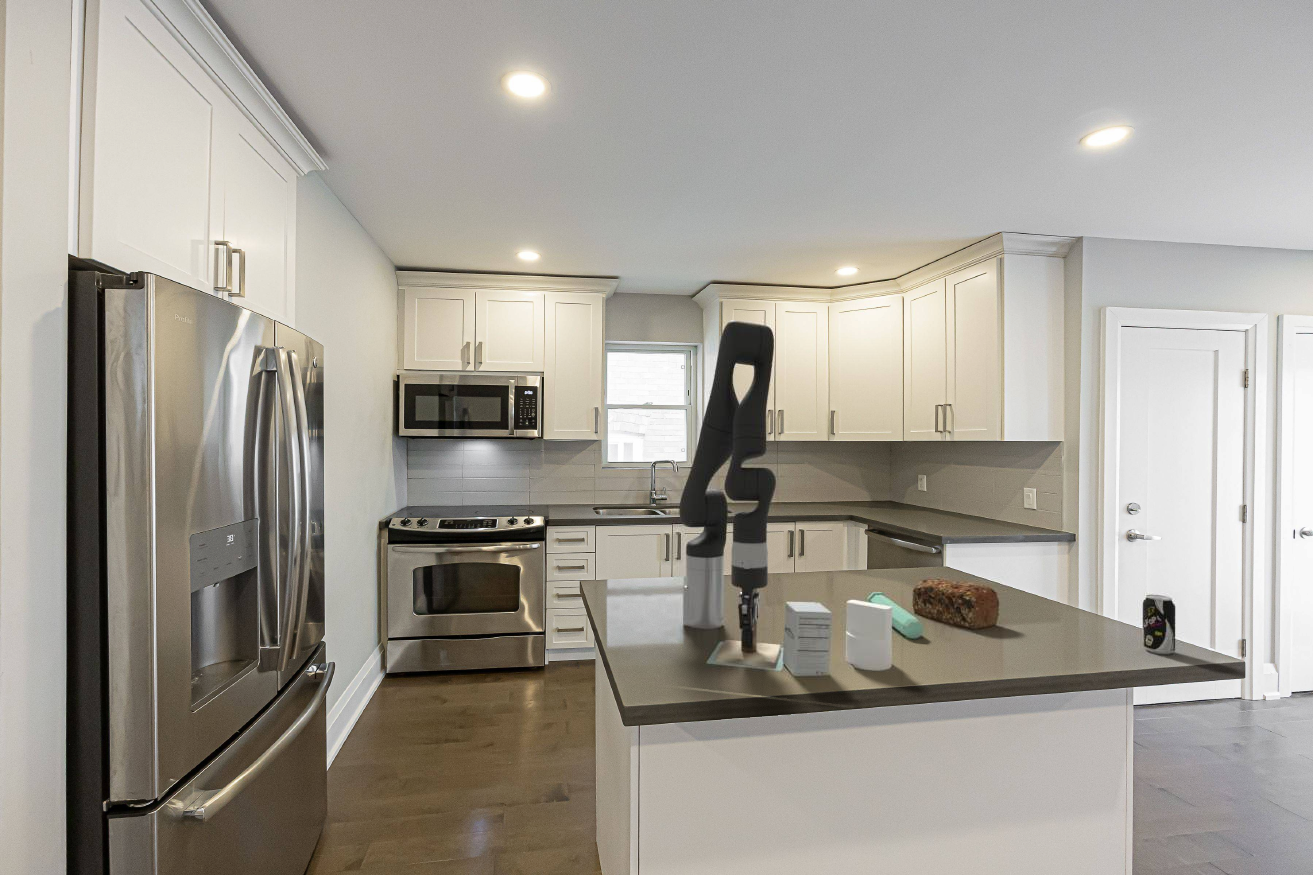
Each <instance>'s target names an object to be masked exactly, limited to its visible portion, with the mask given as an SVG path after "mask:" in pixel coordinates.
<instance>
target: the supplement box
mask: <svg viewBox="0 0 1313 875" xmlns="http://www.w3.org/2000/svg"><path fill="white" fill-rule="evenodd" d="M832 624H833V613H832V611H831V610H829V609H828V608H827V607H825V606H824V605H822V603H820V602H814V601H811V602H810V601H809V602H808V601H786V602H785V616H784V629H783V632H784V633H783V663H784V664H783V665H785V666H786V668H787V669H788V671H789V672H790V674H791V675H792V676H793V677H803V676H804V677H808V676H811V677H812V676H813V677H814V676H829V674H830V673H829V672H830V656H831V643H832V642H831V640H832V639H831V638H832V626H833V625H832Z"/></svg>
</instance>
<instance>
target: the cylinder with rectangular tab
mask: <svg viewBox="0 0 1313 875" xmlns="http://www.w3.org/2000/svg"><path fill="white" fill-rule="evenodd" d="M845 607H846V611H845V612H846V617H845V618H846V621H845V622H846V624H845V625H846V626H845V628H846V629H845V660H846V662H848V663H849V664H851V665H853V666H852V667H853V668H856V669H861V670H865V671H885V670H888V669H890V668H892V665H893V664H892V663H893V662H892V660H893V659H892V656H893V654H892V652H893V626H892V607H891V606H886V605H880V604H874V603H869V602H867V601H862V600H858V599H850V600H847V601H846V606H845Z"/></svg>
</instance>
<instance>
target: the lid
mask: <svg viewBox="0 0 1313 875" xmlns="http://www.w3.org/2000/svg"><path fill="white" fill-rule="evenodd" d="M744 623H747V624H749V621H744ZM757 625H758V621H757V622H756V621H754V629H753V648H752V649H747V648H743V647H742V630H741V629H740V631H741V632H740V639H741V640H733V639H732V640H730V639H724V641H723V642H724V643H723V645H722V646H721V648H720V649H719V651H718V653H717V654H716V656H715V662H725V663H735V664H745V665H755V666H765V667H774V668H775V665H776V662H777V659H778V656H779V653H780V650H781V647H782V645H781V644H775V643H766V642H765V643H764V642H757V638H758V636H757V635H758V634H757V632H758V629H757V628H758V627H757Z"/></svg>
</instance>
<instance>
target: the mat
mask: <svg viewBox="0 0 1313 875" xmlns="http://www.w3.org/2000/svg"><path fill="white" fill-rule="evenodd" d="M723 643H724V641H720V642H718V644H717V646H716V648H715V649H714V651H713V652H712V653H711V655H710V657H708V659H707V661H706V664H710V665H719V666H729V667H737V668H738V667H739V668H750V669H759V670H766V671H767V670H769V671H776V672H777V671H778V672H782V671H783V667H784V665H785V664H784V663H783V647H782V646H781V650H780V653H779V656H778V659H777V662H776V665H775V668H774V667H765V666H755V665H745V664H735V663H725V662H715V656H716V654H717V653H718V651H719V649H720V648H721V646H722V645H723Z"/></svg>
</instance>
